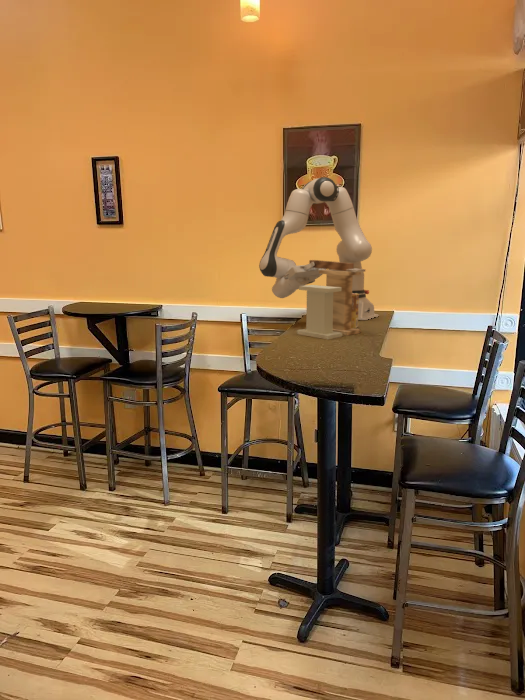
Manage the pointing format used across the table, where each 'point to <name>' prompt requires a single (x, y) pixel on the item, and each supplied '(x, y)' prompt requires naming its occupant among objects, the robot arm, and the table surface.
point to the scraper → (336, 266)
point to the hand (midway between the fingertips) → (318, 262)
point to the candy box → (354, 310)
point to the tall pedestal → (341, 300)
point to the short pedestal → (319, 312)
